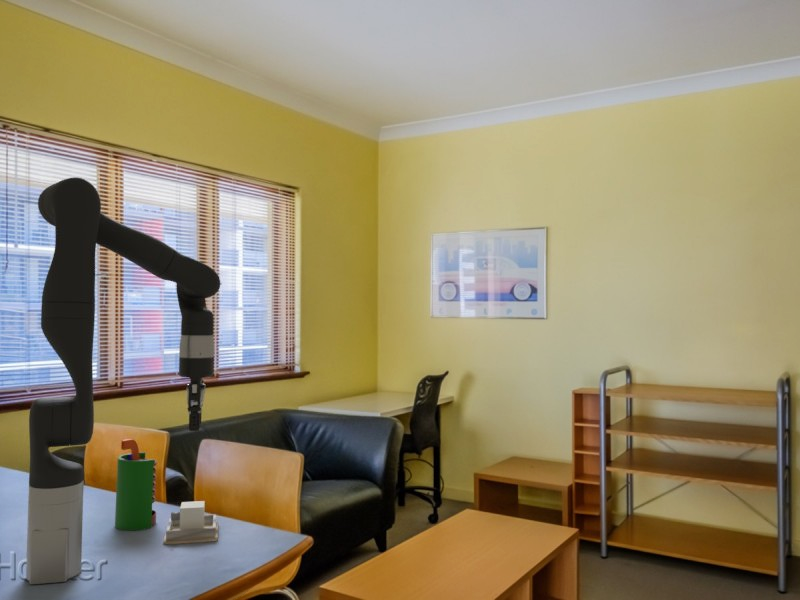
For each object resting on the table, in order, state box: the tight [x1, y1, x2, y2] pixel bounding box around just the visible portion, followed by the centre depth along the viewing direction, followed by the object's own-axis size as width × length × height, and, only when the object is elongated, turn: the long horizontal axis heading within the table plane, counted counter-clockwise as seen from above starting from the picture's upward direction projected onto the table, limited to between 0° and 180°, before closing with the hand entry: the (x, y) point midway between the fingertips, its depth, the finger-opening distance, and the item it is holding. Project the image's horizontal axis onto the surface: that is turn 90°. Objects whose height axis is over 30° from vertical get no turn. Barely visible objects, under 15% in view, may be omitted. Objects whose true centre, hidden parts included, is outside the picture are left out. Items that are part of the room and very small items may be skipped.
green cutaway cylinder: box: [114, 438, 158, 531], centre depth 154 cm, size 10×9×20 cm
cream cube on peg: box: [170, 500, 206, 530], centre depth 147 cm, size 5×7×6 cm
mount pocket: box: [162, 513, 219, 546], centre depth 147 cm, size 11×11×3 cm
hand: (195, 427), depth 148 cm, fingers open, 8 cm apart
